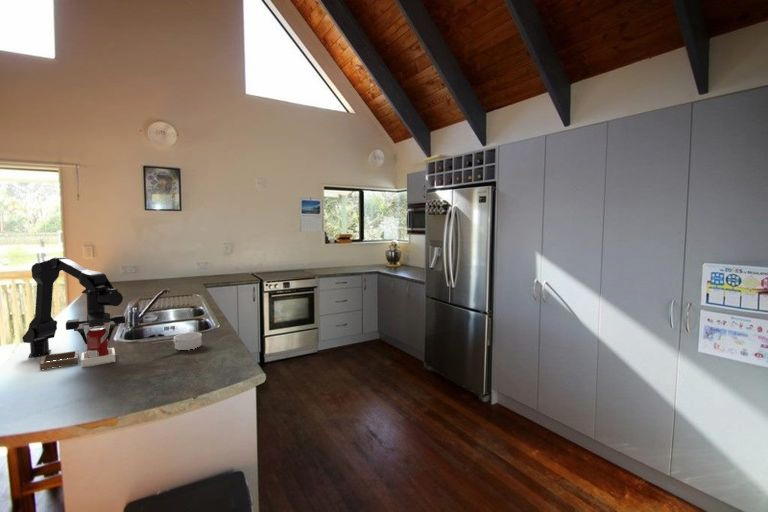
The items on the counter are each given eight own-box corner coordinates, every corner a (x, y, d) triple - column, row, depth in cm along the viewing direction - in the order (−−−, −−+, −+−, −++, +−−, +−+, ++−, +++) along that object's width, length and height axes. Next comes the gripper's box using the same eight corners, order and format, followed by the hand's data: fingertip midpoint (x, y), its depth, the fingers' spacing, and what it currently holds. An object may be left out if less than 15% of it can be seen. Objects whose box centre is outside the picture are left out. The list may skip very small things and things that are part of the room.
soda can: (97, 360, 145) (95, 331, 144) (83, 359, 146) (81, 329, 145) (112, 355, 152) (111, 326, 151) (99, 353, 153) (98, 325, 152)
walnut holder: (43, 361, 147) (42, 355, 147) (78, 356, 154) (78, 350, 154) (40, 370, 139) (39, 363, 138) (78, 363, 145) (77, 357, 145)
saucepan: (148, 352, 160) (148, 340, 159) (196, 342, 174) (196, 330, 174) (157, 359, 152) (156, 345, 151) (206, 347, 167) (206, 335, 166)
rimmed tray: (82, 359, 150) (81, 352, 150) (114, 354, 156) (114, 347, 156) (81, 367, 142) (81, 360, 141) (115, 361, 148) (115, 354, 148)
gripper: (63, 311, 135) (65, 352, 136) (125, 305, 147) (127, 343, 148) (65, 306, 144) (67, 344, 145) (123, 300, 155) (125, 336, 157)
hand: (97, 342), depth 148 cm, fingers closed on soda can, 7 cm apart
